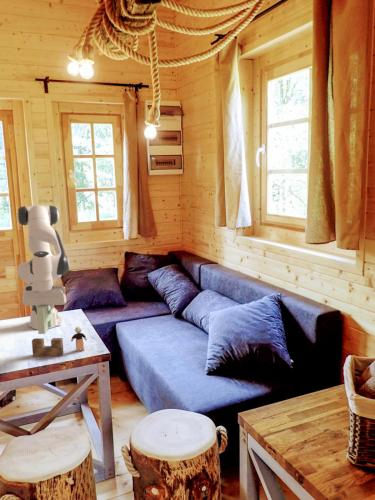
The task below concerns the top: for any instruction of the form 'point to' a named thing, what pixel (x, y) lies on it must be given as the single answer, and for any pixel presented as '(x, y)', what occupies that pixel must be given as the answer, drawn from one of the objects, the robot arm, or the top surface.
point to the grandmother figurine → (79, 339)
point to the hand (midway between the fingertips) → (45, 313)
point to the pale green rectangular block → (44, 319)
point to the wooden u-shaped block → (47, 347)
